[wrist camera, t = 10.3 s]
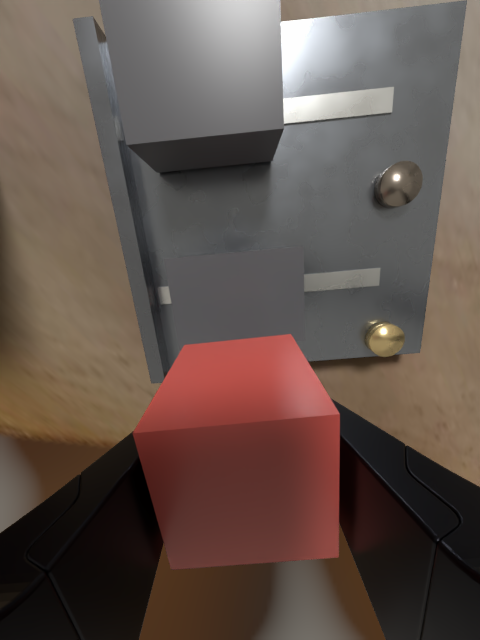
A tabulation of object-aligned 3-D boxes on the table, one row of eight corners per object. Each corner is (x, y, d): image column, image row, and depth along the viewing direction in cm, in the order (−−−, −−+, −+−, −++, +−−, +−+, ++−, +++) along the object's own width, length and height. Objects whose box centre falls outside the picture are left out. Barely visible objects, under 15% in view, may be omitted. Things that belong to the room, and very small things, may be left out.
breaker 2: (288, 247, 16) (303, 246, 12) (290, 322, 17) (304, 343, 13) (182, 256, 16) (163, 258, 12) (193, 330, 17) (180, 353, 13)
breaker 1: (267, 55, 13) (279, -28, 9) (272, 161, 14) (284, 128, 10) (139, 69, 13) (97, -5, 9) (156, 172, 14) (126, 144, 11)
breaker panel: (436, 33, 14) (496, -33, 11) (402, 342, 20) (435, 361, 17) (110, 70, 15) (72, 18, 12) (166, 361, 21) (151, 383, 17)
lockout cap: (291, 334, 9) (340, 414, 5) (295, 423, 10) (338, 557, 6) (184, 345, 9) (132, 433, 5) (200, 432, 10) (171, 569, 6)
